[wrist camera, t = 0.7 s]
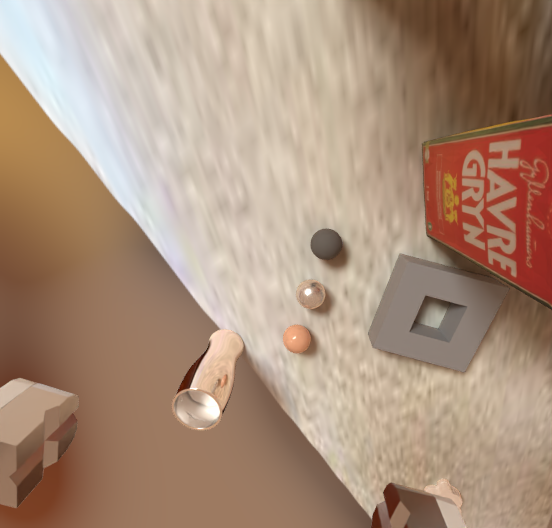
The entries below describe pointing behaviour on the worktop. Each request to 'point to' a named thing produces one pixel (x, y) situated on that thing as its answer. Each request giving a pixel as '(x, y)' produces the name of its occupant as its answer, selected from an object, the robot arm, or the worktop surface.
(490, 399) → the worktop surface
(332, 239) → the black rubber ball
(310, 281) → the steel ball
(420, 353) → the housing
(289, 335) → the terracotta ball
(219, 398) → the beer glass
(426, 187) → the food packaging
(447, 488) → the brush
